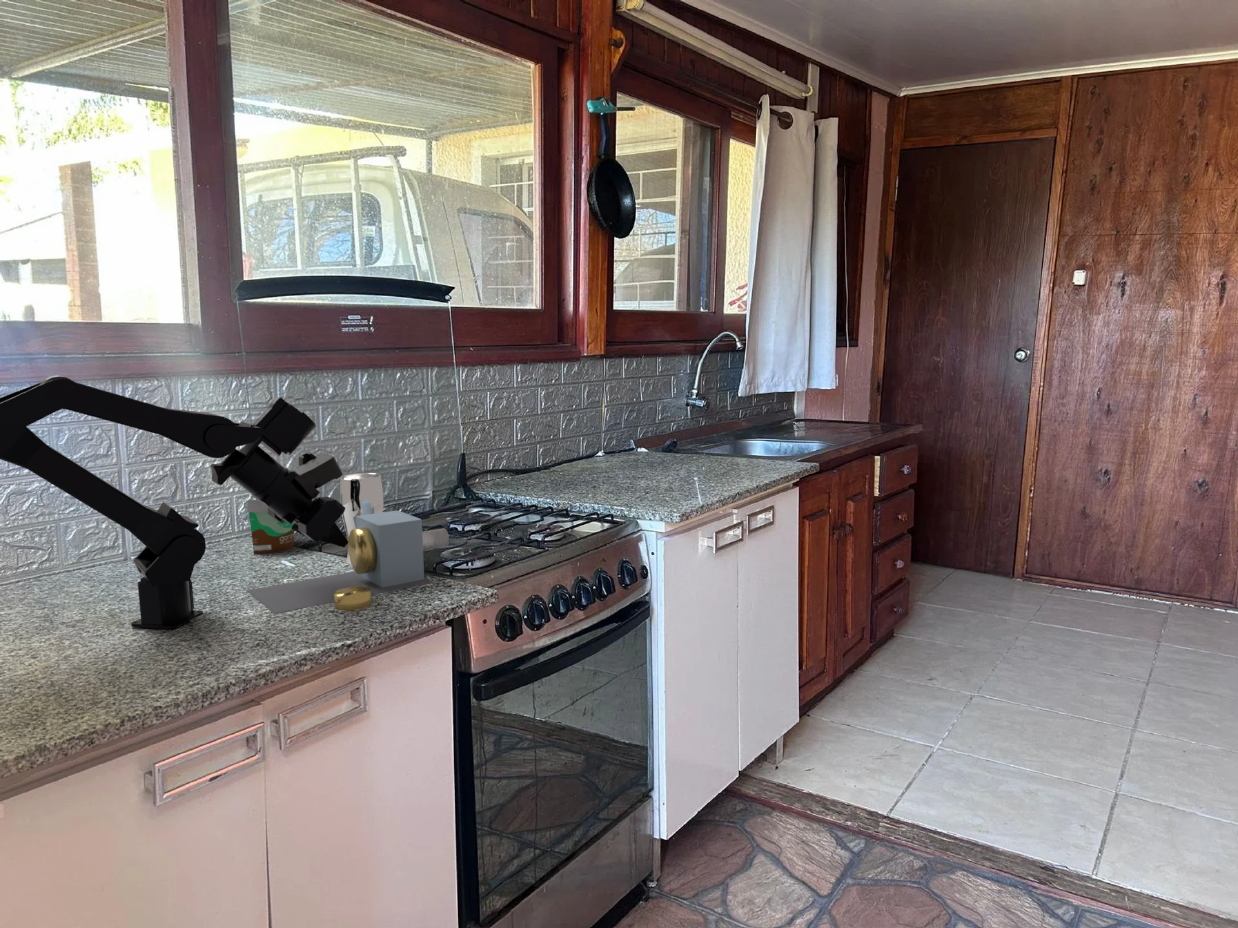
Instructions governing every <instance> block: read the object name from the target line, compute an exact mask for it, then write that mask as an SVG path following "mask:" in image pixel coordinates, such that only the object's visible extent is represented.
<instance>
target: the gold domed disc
mask: <svg viewBox="0 0 1238 928" xmlns="http://www.w3.org/2000/svg"><path fill="white" fill-rule="evenodd" d="M334 599H335V602H334V608H335V609H336V610H339V611H343V612H344V611H345V612H346V611H351V612H352V611H358V610H363V609H366V608H369V607H370V606H371V605H373V603H372V595H371V589H370V588H367V587H348V588H343V589H340V590H337V591H335V593H334Z"/></svg>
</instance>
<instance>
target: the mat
mask: <svg viewBox="0 0 1238 928" xmlns="http://www.w3.org/2000/svg"><path fill="white" fill-rule="evenodd" d="M428 584H429V585H430V584H434V581H432V580H429V579H427V578H426V577H424V580H418V581H413V582H408V583H403V584H397V585H392V586H387V587H380V586H378V585H376V584H374V583H373V582H371V581H369V580H367V579H365V578H364V577H362V576H360V575H359V574H357V573H356V572H355V570H354V571H349V572H348V571H347V572H343V573H338V574H337V573H336V574H332V575H325V576H322V577H321V576H320V577H316V578H309V579H304V580H297V581H292V582H287V583H280V584H275V585H270V586H265V587H264V586H263V587H259V588H252V589H247V590H246V593H248V594H249V595H251V597H253V598H254V599H255V600H256V601H258V602H259V603H260V604H262V605H263V606H264V607H265V608H266V609H268V610H269V612H271V613H273V614H274V615H276V614H281V613H286V612H291V611H296V610H301V609H305V608H311V607H316V606H322V605H327V604H332V603H335V599H334V593H335V591H337V590H340V589H343V588H348V587H367V588H370V589H371V596H373V595H377V594H378V595H379V594H384V593H389V592H393V591H398V590H403V589H410V588H413V587H418V586H424V585H428Z"/></svg>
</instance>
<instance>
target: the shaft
mask: <svg viewBox="0 0 1238 928" xmlns="http://www.w3.org/2000/svg"><path fill="white" fill-rule="evenodd" d="M422 537H423V551H429V550H433V549H439V548H445V547H448V546H449V544H450V543H449V542H450V536H449V532H448V529H446V528H445V527H444V528H443V527H442V528H437V529H431V530H430V529H429V530H426V531H425V530H424V531H423V530H422ZM347 540H348V544H347V552H348V551H349V557H350V561H351V564H352V565H351V566H352V569H353V570H354V571H355V572H356V573H357V574H365V573H370V572H373V571H374V570H375V567H376V563H377V550H376V544H375V540H374V537H373V535H372V533H371V531H370V530H369V529H368V528H358V529H353V530H351V532H350V534H349V538H348V539H347Z"/></svg>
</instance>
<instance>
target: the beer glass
mask: <svg viewBox="0 0 1238 928" xmlns="http://www.w3.org/2000/svg"><path fill="white" fill-rule="evenodd" d="M339 478H340V482H339V483H340V486H339V497H340V498H339V501H340V502H339V503H340V504H342V505H343V506H344V507H345V512H344V513H343V514H342V515H341V517H342V521H343V525H344V529H345V534H346V539H347V540H348V538H349V534H350V532H351V530H353V529H357V527H356V516H360V515H368V514H375V513H382V512H384V490H383V484H382V474H380V473H378V472H377V473H376V472H357V473H349V474H344V475H342V476H341V477H339ZM346 564H348V565H349V566H350V565H351V566H352V564H351V561H350V557H349V551H348V550H347V557H346Z"/></svg>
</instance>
